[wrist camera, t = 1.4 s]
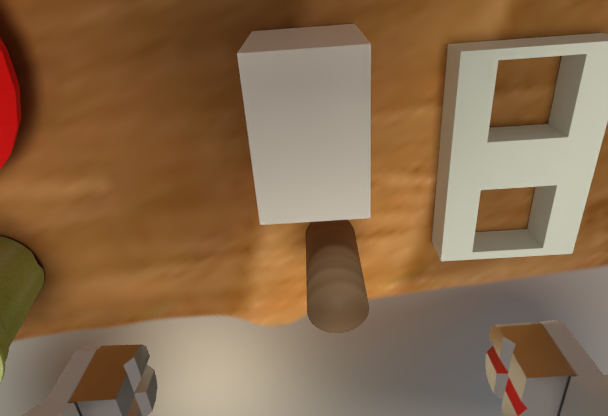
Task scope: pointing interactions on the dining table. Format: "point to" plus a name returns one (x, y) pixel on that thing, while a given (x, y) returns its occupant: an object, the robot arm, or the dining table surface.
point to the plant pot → (15, 291)
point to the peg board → (519, 147)
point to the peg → (334, 277)
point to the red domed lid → (8, 105)
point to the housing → (308, 122)
